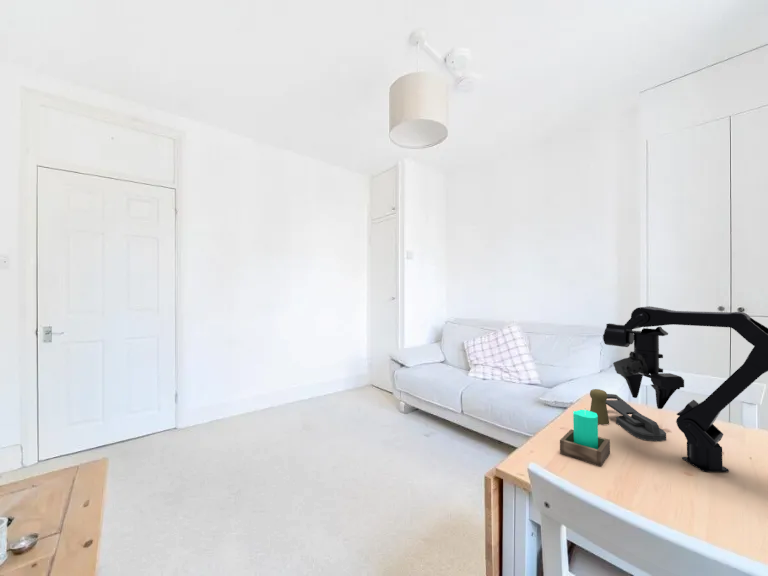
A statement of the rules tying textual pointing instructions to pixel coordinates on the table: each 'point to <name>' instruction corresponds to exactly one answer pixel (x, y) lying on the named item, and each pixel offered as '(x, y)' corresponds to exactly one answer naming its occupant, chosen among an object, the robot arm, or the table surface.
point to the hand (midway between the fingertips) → (646, 402)
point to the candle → (585, 428)
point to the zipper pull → (635, 421)
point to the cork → (599, 405)
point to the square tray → (585, 449)
